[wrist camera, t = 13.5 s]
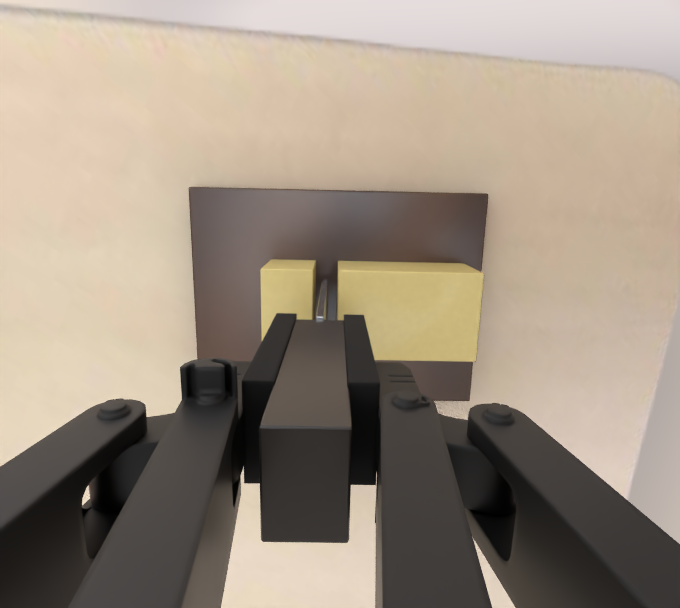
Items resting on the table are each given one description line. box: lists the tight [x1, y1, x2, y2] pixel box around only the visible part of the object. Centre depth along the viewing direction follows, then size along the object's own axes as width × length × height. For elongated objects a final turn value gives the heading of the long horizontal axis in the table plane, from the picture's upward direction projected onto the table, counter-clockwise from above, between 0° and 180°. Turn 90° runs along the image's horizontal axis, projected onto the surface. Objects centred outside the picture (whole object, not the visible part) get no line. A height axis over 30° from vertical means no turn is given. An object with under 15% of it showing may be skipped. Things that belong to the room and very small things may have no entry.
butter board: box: [189, 187, 488, 401], centre depth 26 cm, size 16×12×1 cm
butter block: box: [337, 261, 484, 362], centre depth 24 cm, size 7×4×4 cm, turn 89°
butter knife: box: [259, 279, 352, 543], centre depth 17 cm, size 2×3×16 cm, turn 179°
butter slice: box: [260, 259, 316, 340], centre depth 24 cm, size 2×4×4 cm, turn 179°
